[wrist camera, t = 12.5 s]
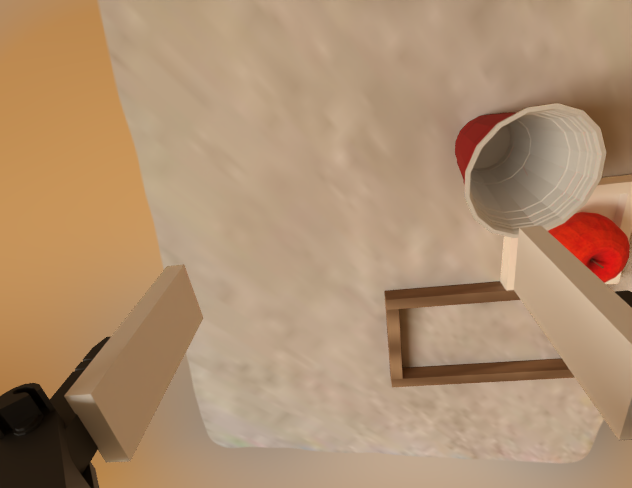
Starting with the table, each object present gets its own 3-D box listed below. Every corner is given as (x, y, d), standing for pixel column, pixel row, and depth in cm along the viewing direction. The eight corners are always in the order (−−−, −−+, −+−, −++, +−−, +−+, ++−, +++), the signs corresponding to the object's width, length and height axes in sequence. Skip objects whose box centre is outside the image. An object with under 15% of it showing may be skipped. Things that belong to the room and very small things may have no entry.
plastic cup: (521, 195, 43) (581, 245, 32) (423, 189, 43) (450, 235, 32) (554, 91, 38) (638, 108, 27) (443, 84, 38) (483, 99, 27)
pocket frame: (384, 290, 49) (386, 300, 48) (592, 273, 47) (602, 282, 45) (390, 376, 56) (392, 387, 54) (573, 366, 53) (581, 377, 51)
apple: (518, 264, 46) (548, 300, 39) (533, 201, 42) (569, 229, 36) (588, 264, 45) (630, 301, 39) (610, 201, 42) (661, 230, 35)
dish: (508, 187, 42) (515, 194, 41) (631, 174, 41) (644, 180, 39) (500, 283, 48) (506, 292, 46) (608, 274, 46) (618, 283, 45)
